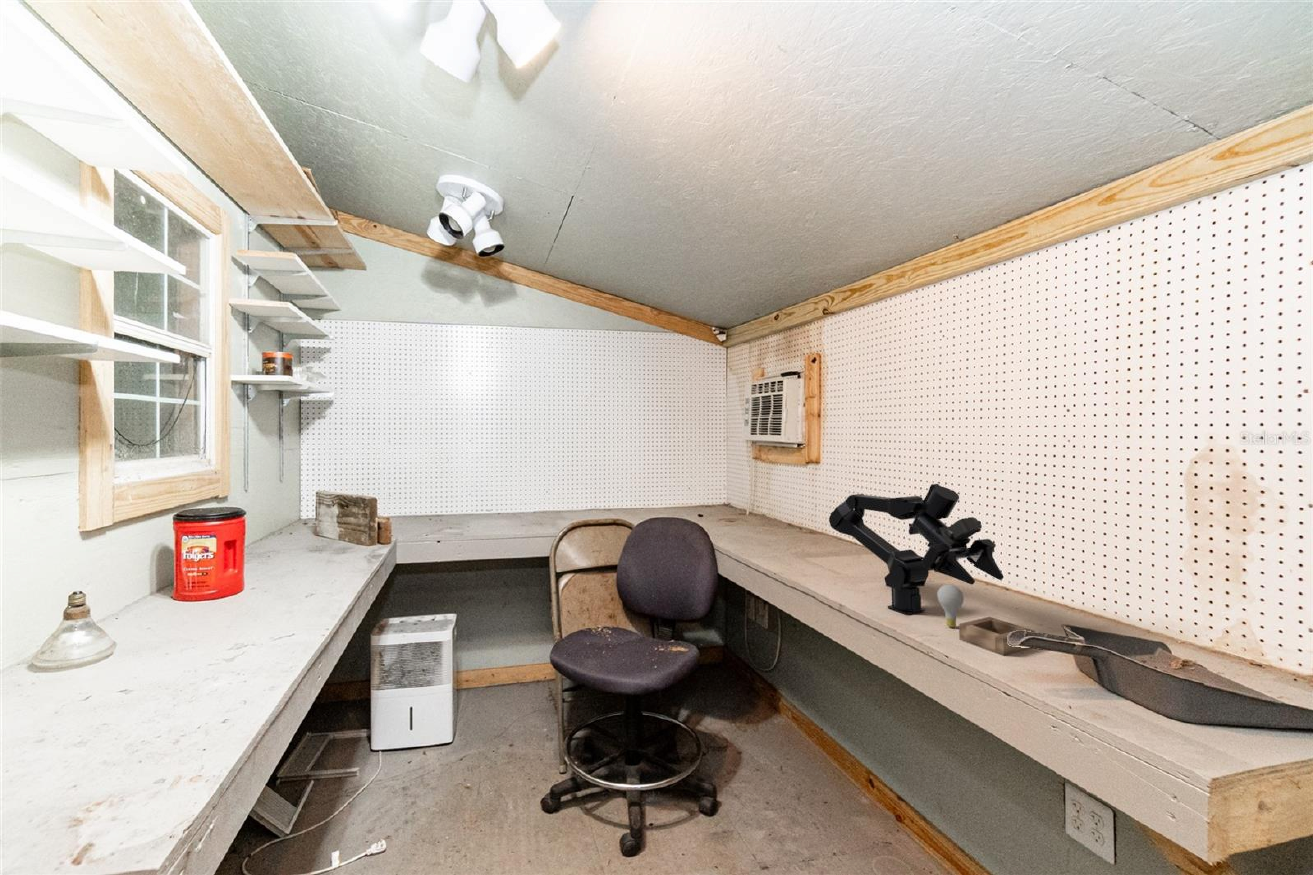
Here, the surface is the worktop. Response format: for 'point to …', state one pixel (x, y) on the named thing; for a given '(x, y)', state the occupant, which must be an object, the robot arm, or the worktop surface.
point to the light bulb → (950, 602)
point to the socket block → (990, 634)
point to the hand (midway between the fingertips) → (988, 580)
